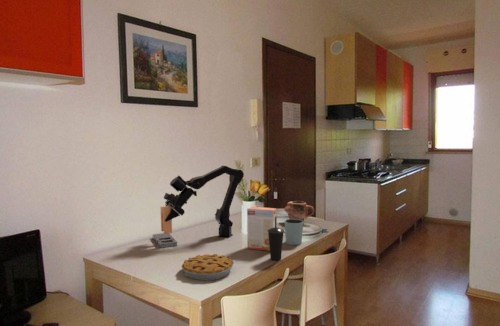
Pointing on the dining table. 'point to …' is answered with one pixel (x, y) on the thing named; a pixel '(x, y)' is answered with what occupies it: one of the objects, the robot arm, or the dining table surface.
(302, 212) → the brown teapot
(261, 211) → the cracker box
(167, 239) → the gray slotted base
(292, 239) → the blue gray cylindrical container
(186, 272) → the pie
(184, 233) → the dining table surface
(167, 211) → the clip
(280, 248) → the drinking cup
